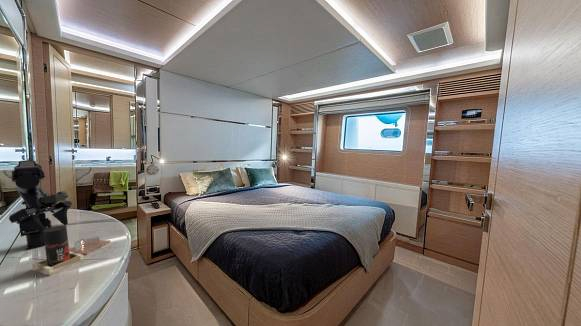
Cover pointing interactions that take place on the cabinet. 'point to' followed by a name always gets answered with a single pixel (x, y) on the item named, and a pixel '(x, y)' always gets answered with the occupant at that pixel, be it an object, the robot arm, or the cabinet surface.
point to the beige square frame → (47, 270)
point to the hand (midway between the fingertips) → (55, 228)
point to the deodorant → (56, 245)
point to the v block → (88, 245)
